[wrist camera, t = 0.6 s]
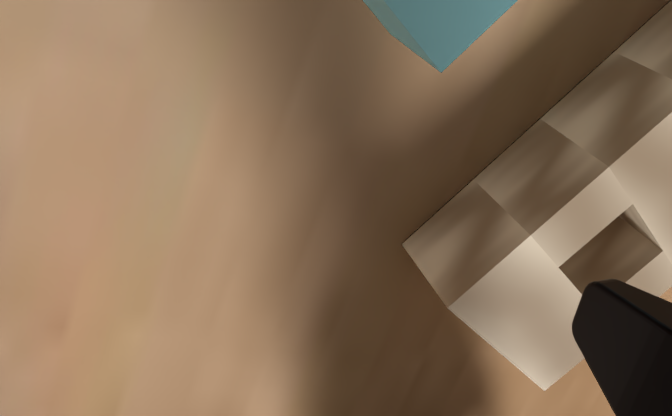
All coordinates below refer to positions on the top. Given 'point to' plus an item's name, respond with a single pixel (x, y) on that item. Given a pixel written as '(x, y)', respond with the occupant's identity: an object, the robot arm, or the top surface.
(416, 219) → the top surface
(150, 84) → the top surface
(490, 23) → the clip
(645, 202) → the beige patterned block
